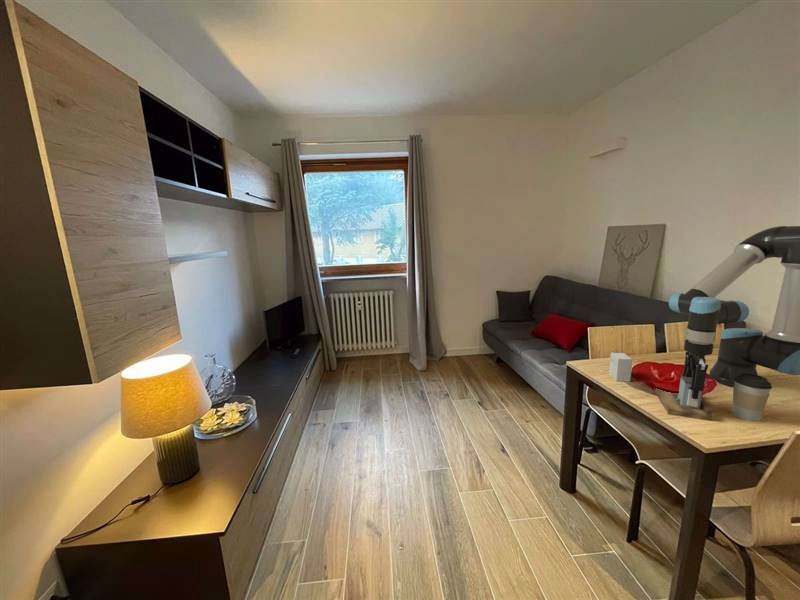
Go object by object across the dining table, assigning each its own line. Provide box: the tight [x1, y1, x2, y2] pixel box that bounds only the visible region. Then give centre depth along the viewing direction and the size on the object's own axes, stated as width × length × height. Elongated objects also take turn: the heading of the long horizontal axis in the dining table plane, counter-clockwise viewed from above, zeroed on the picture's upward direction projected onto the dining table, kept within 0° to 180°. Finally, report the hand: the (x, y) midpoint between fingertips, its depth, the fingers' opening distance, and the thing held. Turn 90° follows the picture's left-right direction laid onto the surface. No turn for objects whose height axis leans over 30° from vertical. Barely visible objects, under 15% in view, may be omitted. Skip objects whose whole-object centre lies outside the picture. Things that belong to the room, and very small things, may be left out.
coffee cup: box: [732, 373, 773, 422], centre depth 115 cm, size 9×9×15 cm
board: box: [654, 388, 714, 422], centre depth 124 cm, size 12×19×4 cm, turn 155°
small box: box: [608, 352, 633, 382], centre depth 147 cm, size 8×6×10 cm
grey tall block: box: [676, 376, 704, 409], centre depth 120 cm, size 6×5×10 cm
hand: (689, 401), depth 120 cm, fingers closed on grey tall block, 5 cm apart
